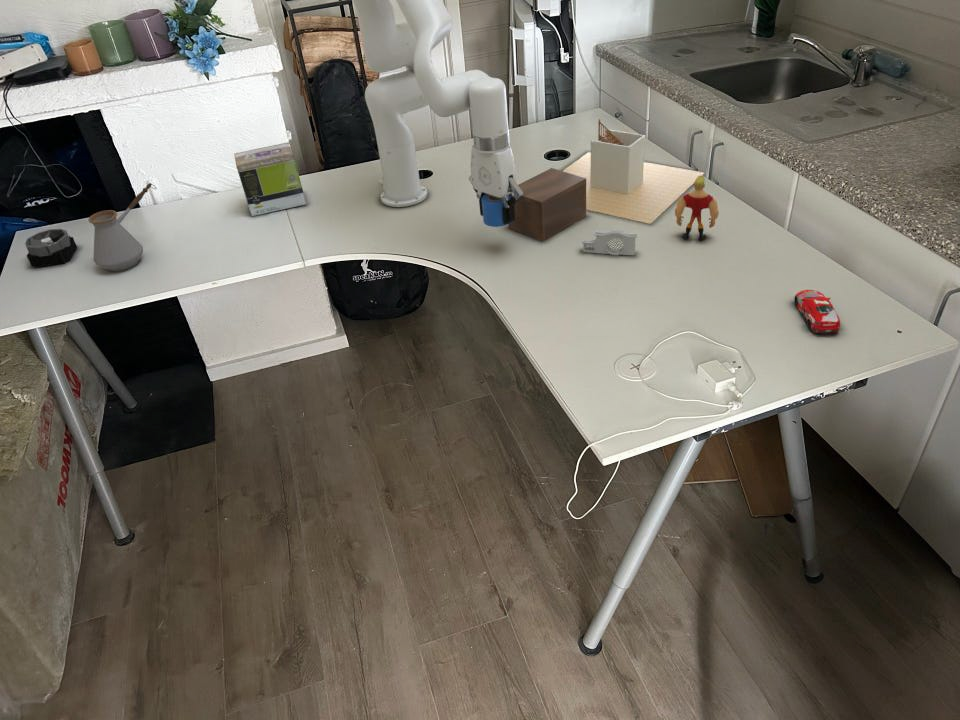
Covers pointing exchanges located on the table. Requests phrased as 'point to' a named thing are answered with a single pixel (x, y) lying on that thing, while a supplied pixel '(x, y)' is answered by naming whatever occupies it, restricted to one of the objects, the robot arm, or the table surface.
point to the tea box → (270, 178)
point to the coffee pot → (115, 239)
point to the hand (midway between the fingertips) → (497, 217)
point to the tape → (493, 210)
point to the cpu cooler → (50, 247)
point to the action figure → (697, 208)
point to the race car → (817, 311)
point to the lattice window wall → (605, 237)
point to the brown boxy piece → (549, 204)
